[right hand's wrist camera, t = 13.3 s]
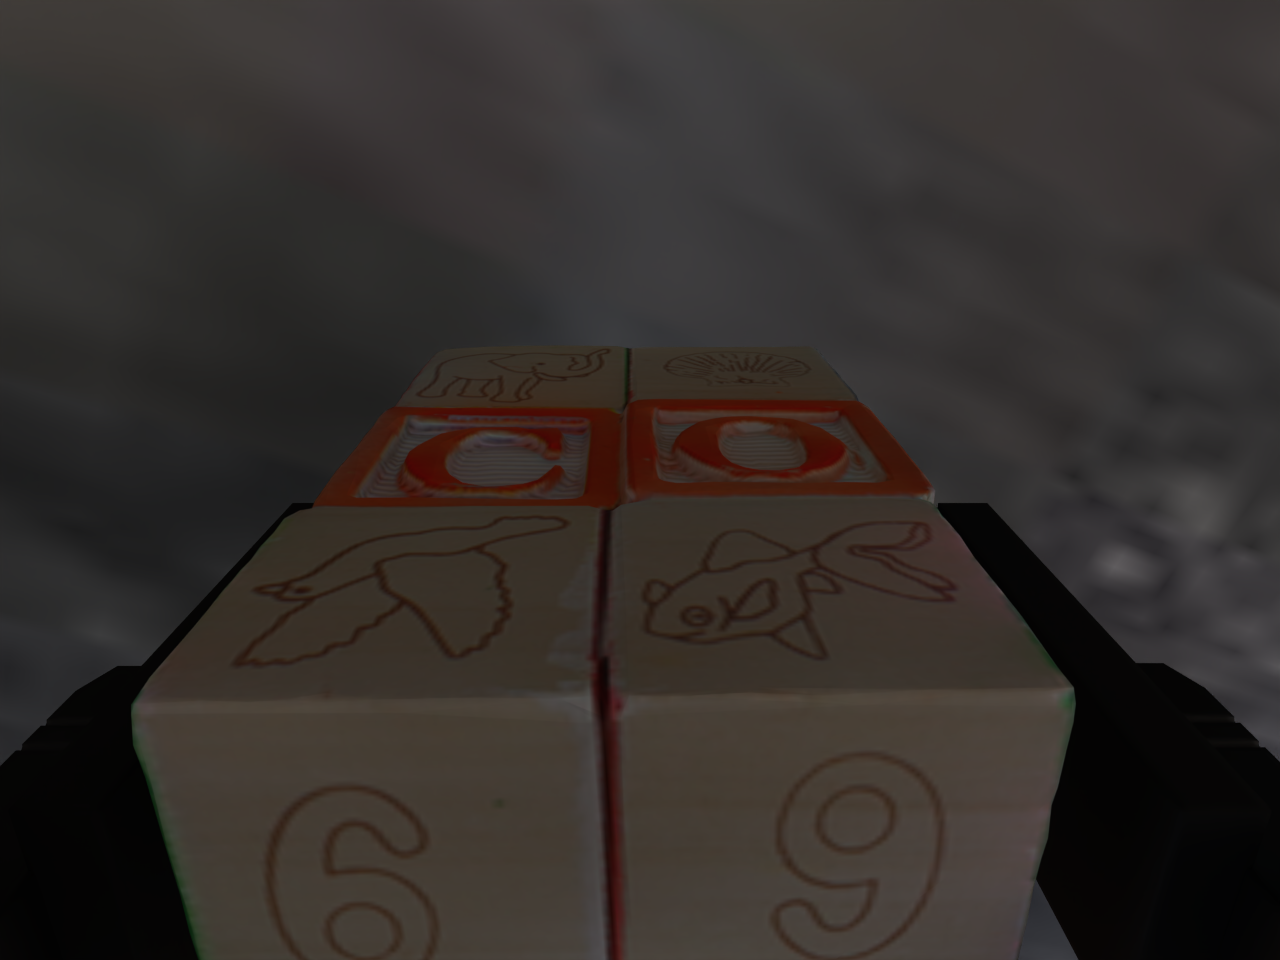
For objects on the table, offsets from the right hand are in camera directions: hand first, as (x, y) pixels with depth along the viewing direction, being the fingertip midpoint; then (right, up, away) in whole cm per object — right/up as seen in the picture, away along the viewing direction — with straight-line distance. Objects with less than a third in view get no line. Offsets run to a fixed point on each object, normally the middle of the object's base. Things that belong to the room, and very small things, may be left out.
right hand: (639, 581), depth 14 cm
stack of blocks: (0, -6, +4) cm, 7 cm away
